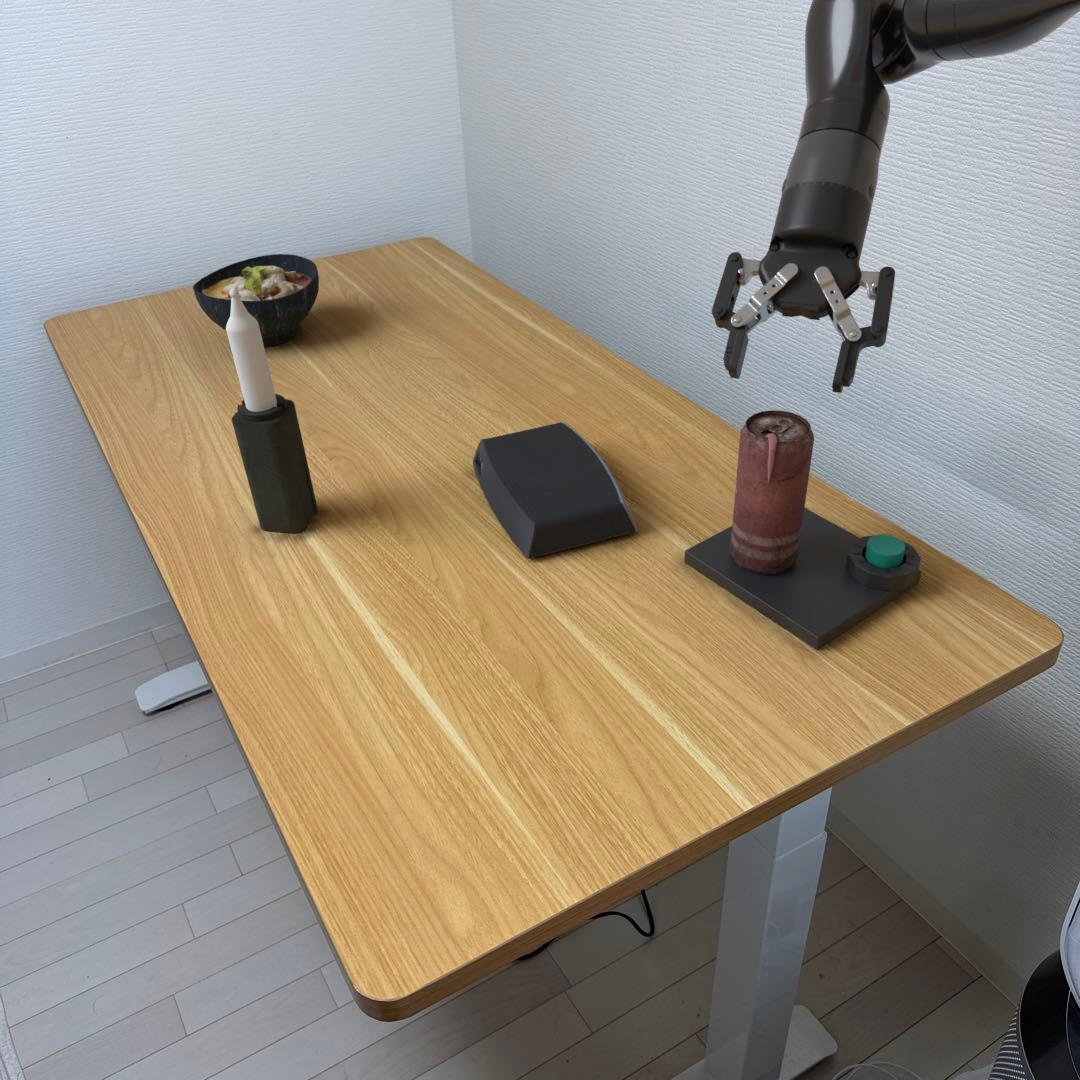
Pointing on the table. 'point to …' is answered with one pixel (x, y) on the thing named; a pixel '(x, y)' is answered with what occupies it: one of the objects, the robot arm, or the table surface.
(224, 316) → the bowl
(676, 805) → the table surface
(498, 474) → the hard drive
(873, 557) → the button
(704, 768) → the table surface
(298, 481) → the candle
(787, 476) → the can
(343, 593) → the table surface
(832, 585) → the scale
